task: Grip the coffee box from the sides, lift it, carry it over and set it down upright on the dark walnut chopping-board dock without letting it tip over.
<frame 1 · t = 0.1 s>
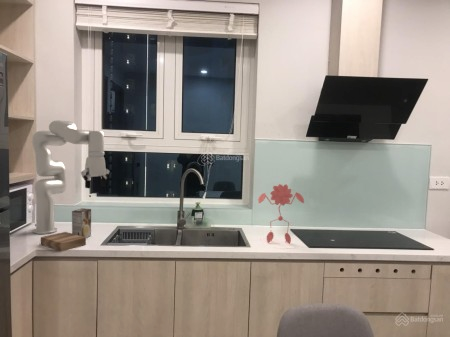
hand: (95, 187, 180), 31 cm above the worktop, tool pointing down, fingers open, 9 cm apart
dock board: (63, 244, 182), on the worktop
pink flower figurine: (278, 245, 197), on the worktop
coffee box: (81, 238, 196), on the worktop
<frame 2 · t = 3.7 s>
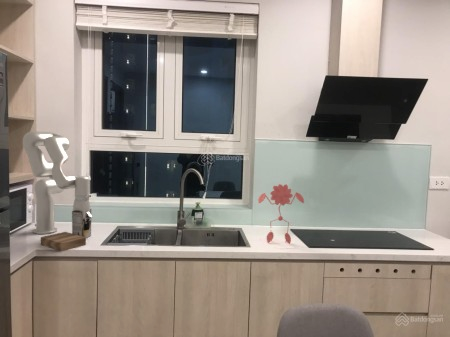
hand: (81, 228, 196), 5 cm above the worktop, tool pointing down, fingers closed on coffee box, 7 cm apart
coffee box: (81, 238, 196), on the worktop, touching gripper
everything else where it was.
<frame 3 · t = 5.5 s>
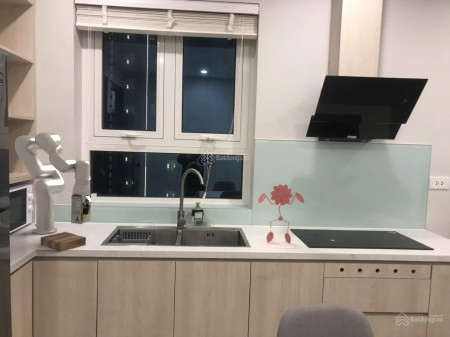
hand: (80, 212, 195), 14 cm above the worktop, tool pointing down, fingers closed on coffee box, 7 cm apart
coffee box: (80, 222, 196), point 9 cm above the worktop, touching gripper
everything else where it was.
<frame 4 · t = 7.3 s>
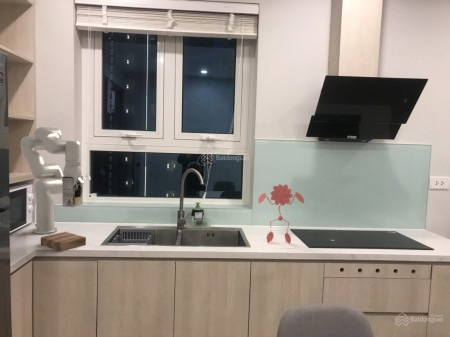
hand: (72, 196, 186), 25 cm above the worktop, tool pointing down, fingers closed on coffee box, 7 cm apart
coffee box: (72, 206, 187), point 20 cm above the worktop, touching gripper
everything else where it was.
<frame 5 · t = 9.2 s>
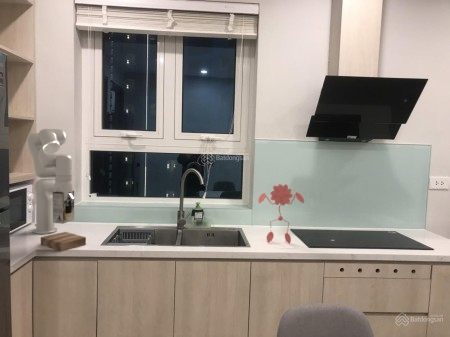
hand: (63, 211, 181), 18 cm above the worktop, tool pointing down, fingers closed on coffee box, 7 cm apart
coffee box: (63, 221, 181), point 12 cm above the worktop, touching gripper
everything else where it was.
when the fingers open (11 cm above the worktop, at t = 11.1 s): coffee box drops 1 cm, resting on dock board.
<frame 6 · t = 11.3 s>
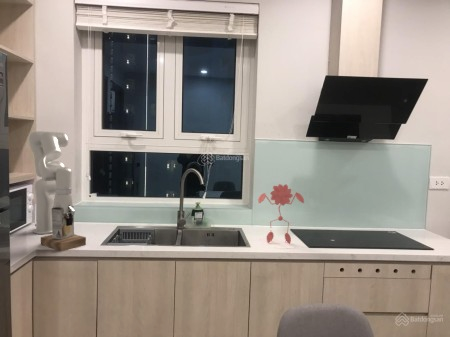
hand: (63, 223, 181), 11 cm above the worktop, tool pointing down, fingers open, 9 cm apart
coffee box: (63, 237, 182), point 4 cm above the worktop, touching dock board
everything else where it was.
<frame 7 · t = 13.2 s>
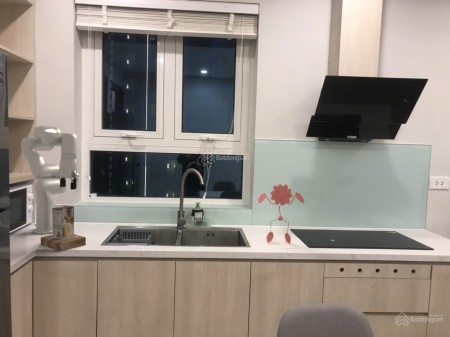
hand: (68, 188, 186), 29 cm above the worktop, tool pointing down, fingers open, 9 cm apart
nothing on the worktop moved.
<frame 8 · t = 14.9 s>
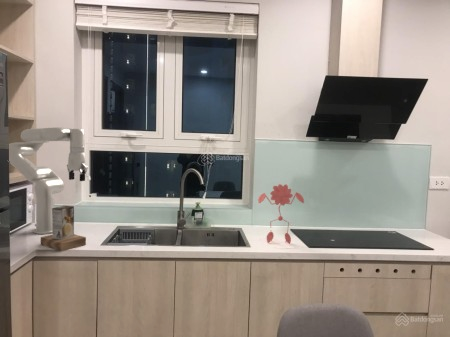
hand: (76, 180, 198), 32 cm above the worktop, tool pointing down, fingers open, 9 cm apart
nothing on the worktop moved.
at the end: coffee box inside the target area on the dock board (0.1 cm from its centre), point 3.8 cm above the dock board's base; coffee box tilted 0°; the gripper is holding nothing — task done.
